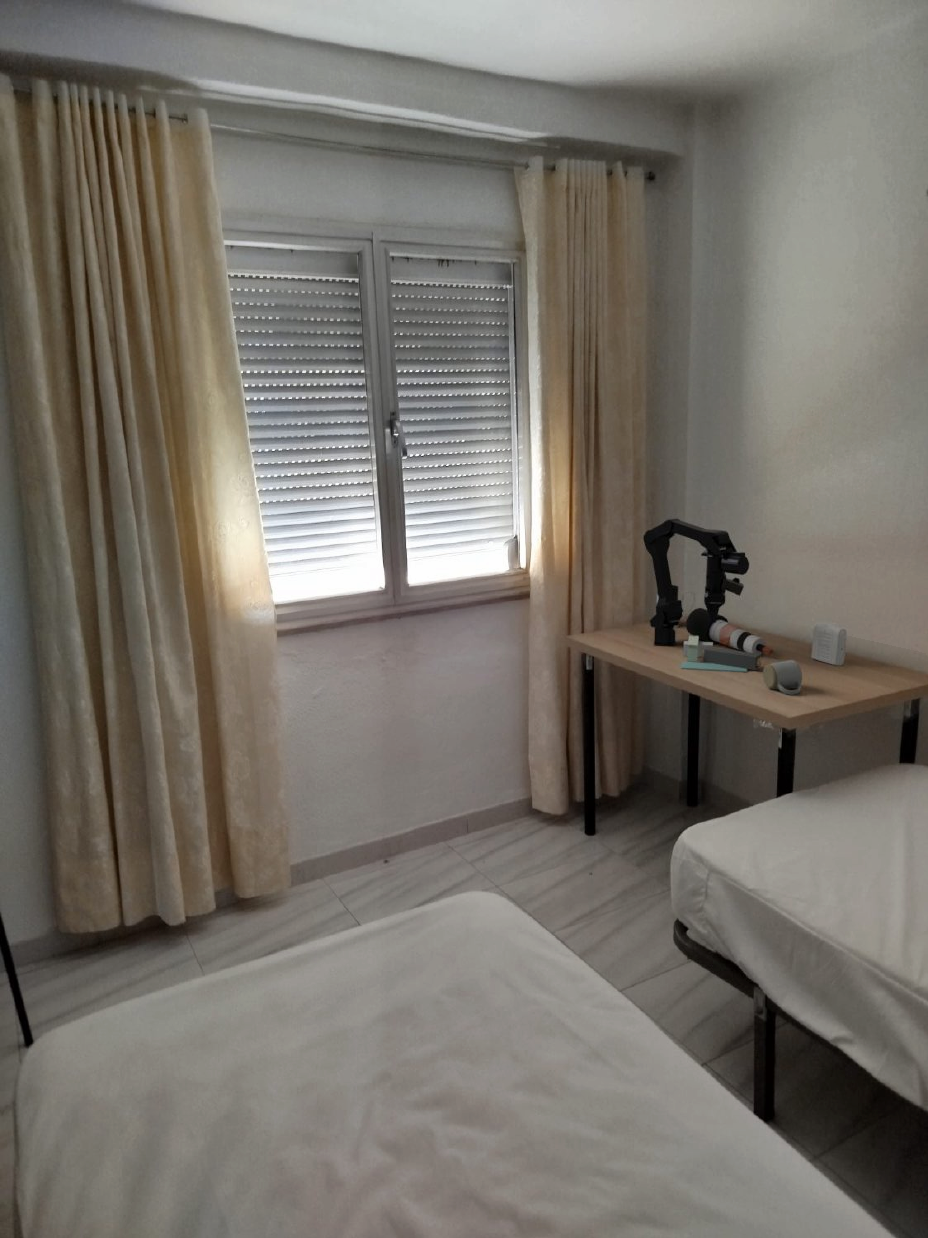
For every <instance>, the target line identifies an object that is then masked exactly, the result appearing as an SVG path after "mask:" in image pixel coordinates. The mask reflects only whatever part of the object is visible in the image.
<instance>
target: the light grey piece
mask: <svg viewBox="0 0 928 1238" xmlns="http://www.w3.org/2000/svg"><path fill="white" fill-rule="evenodd" d="M699 639H700V638H699V636H693V635H691V634H690V635H688V640H687V641H688V651H687V656H686V657H687V658H686V659H687V661H686V662H698V657H697V653H698V642H700V640H699Z"/></svg>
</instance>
